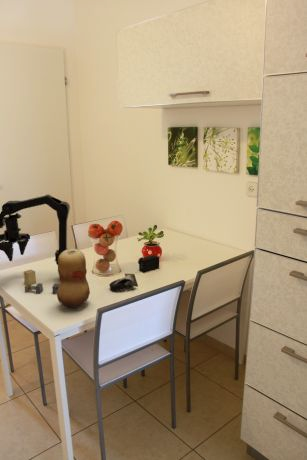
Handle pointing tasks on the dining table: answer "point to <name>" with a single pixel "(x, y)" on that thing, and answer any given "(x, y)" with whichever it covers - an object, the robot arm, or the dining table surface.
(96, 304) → the dining table surface
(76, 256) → the butternut squash
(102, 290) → the dining table surface
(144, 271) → the digital camera
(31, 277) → the coupler
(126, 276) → the caster wheel
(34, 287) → the shaft rig
